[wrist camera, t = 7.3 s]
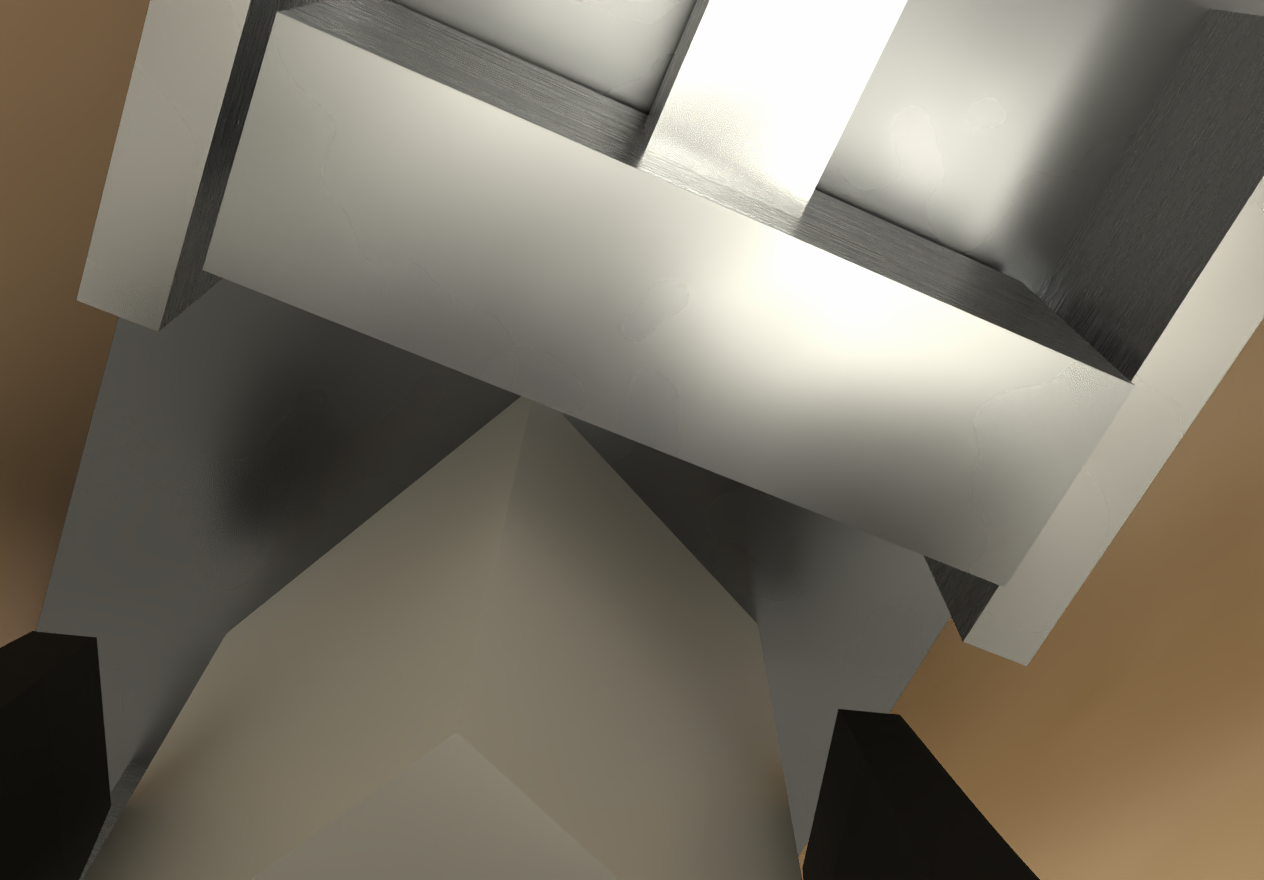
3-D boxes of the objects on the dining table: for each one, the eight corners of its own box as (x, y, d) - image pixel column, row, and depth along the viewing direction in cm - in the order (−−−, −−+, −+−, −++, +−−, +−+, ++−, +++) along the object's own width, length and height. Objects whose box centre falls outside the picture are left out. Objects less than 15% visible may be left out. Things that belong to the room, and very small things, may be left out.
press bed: (1313, -48, 12) (1617, -38, 8) (672, 993, 18) (681, 1269, 14) (378, -533, 10) (235, -789, 7) (18, 786, 16) (-162, 1036, 13)
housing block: (757, 624, 14) (847, 1142, 8) (455, 831, 15) (336, 1412, 9) (536, 385, 13) (442, 785, 7) (225, 633, 14) (-80, 1154, 8)
